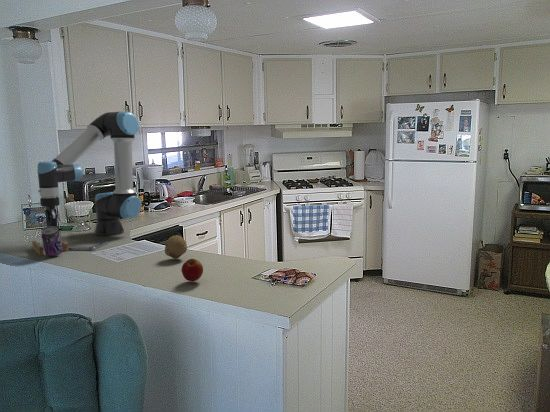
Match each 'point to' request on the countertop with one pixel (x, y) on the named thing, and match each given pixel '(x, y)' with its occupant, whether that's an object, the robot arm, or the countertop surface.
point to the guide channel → (39, 248)
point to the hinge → (88, 247)
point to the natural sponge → (175, 247)
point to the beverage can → (51, 241)
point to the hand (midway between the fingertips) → (53, 249)
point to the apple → (192, 270)
